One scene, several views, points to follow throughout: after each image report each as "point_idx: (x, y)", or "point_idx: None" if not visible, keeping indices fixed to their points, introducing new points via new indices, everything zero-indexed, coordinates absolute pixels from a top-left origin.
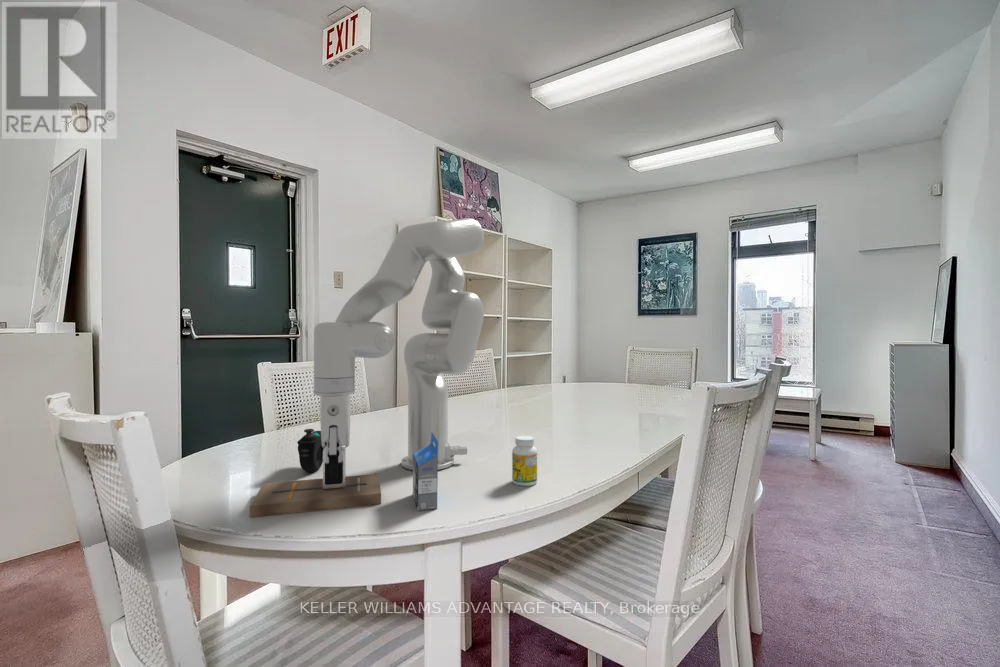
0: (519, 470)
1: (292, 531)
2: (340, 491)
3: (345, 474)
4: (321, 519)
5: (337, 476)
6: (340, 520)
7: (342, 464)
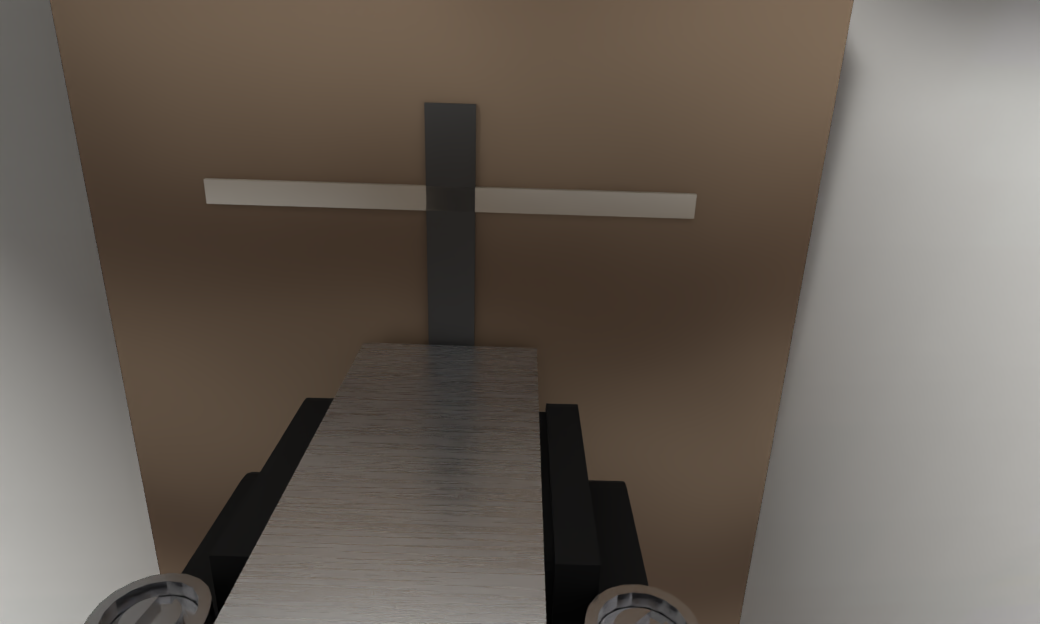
0: None
1: (1032, 612)
2: (613, 382)
3: (364, 385)
4: (921, 463)
5: (626, 504)
6: (1021, 336)
7: (594, 546)
